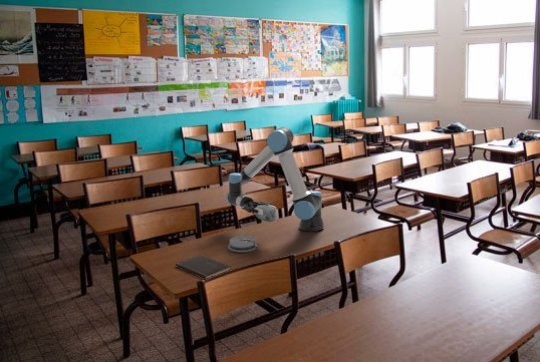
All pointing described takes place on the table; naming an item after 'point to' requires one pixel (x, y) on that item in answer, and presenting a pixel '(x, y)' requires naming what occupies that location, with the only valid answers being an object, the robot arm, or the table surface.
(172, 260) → the table surface
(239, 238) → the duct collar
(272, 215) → the grey rounded block
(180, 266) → the hardcover book
